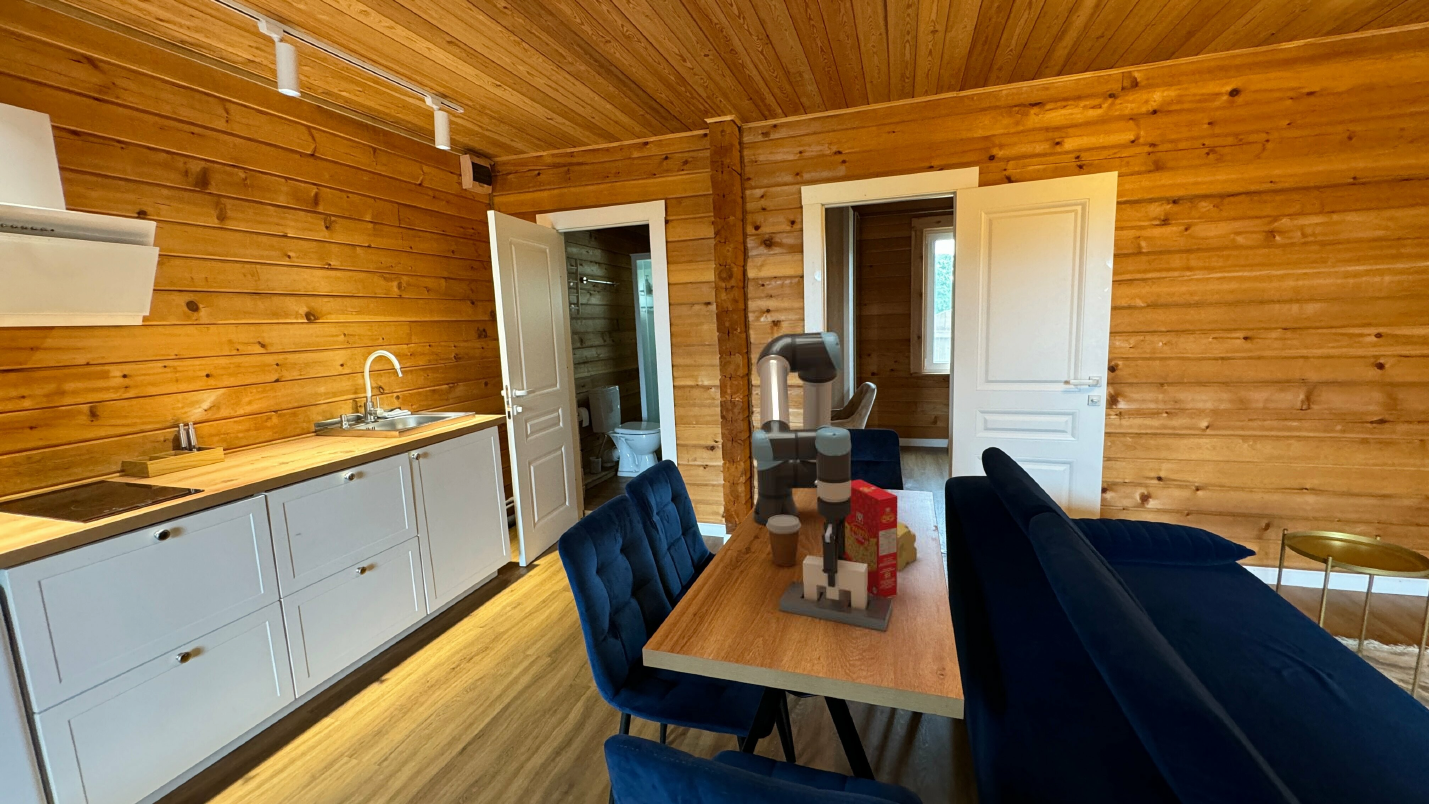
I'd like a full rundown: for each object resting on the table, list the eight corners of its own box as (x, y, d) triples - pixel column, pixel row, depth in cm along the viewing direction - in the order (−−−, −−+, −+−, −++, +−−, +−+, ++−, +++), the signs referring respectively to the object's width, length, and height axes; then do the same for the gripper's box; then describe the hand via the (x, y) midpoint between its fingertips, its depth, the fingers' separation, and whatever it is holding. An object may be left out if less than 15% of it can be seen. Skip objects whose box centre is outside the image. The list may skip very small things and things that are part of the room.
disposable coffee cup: (800, 569, 150) (799, 527, 148) (765, 568, 151) (764, 526, 150) (802, 554, 159) (801, 514, 157) (769, 553, 161) (768, 513, 159)
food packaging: (843, 573, 146) (842, 482, 142) (860, 569, 148) (859, 479, 144) (878, 599, 133) (878, 499, 129) (896, 594, 134) (897, 495, 130)
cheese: (917, 559, 152) (917, 525, 151) (898, 573, 145) (898, 537, 143) (882, 549, 160) (882, 516, 158) (862, 562, 152) (862, 527, 151)
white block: (803, 602, 130) (802, 562, 129) (808, 594, 134) (807, 555, 132) (864, 613, 124) (864, 571, 123) (867, 604, 128) (867, 564, 126)
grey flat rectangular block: (779, 610, 130) (779, 600, 129) (792, 590, 139) (792, 581, 138) (885, 631, 120) (885, 620, 119) (892, 608, 128) (892, 598, 128)
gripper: (826, 483, 134) (828, 574, 138) (807, 507, 119) (809, 608, 123) (858, 486, 131) (858, 579, 135) (842, 511, 116) (843, 614, 119)
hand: (835, 592), depth 129 cm, fingers closed on white block, 4 cm apart
